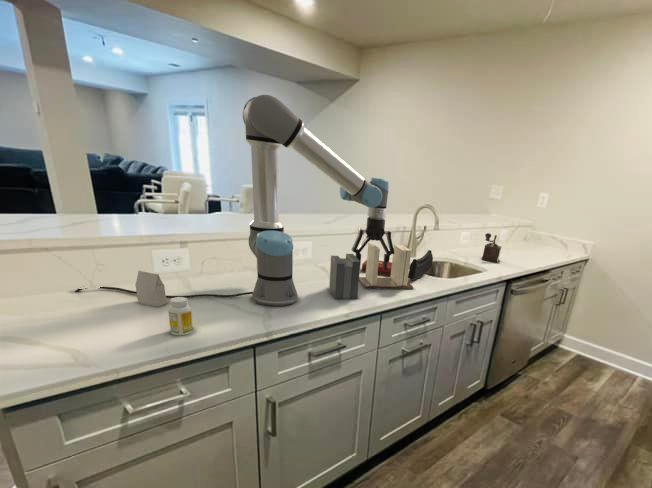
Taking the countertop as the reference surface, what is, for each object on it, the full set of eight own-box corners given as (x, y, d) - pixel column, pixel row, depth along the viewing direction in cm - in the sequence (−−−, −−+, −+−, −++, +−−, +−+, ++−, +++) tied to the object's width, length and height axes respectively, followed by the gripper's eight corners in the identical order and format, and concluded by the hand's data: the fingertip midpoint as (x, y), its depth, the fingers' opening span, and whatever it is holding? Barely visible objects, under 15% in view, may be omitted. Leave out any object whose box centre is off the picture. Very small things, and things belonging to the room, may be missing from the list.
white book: (371, 285, 165) (375, 248, 159) (365, 277, 174) (368, 242, 168) (376, 285, 166) (379, 249, 159) (369, 277, 175) (372, 243, 169)
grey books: (334, 299, 147) (337, 260, 141) (329, 288, 157) (331, 252, 151) (357, 298, 150) (360, 261, 144) (350, 289, 160) (353, 253, 154)
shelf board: (365, 288, 163) (365, 286, 163) (358, 279, 174) (358, 277, 174) (412, 289, 172) (413, 286, 171) (403, 280, 183) (403, 278, 182)
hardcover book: (403, 278, 186) (404, 269, 185) (361, 271, 187) (362, 263, 185) (406, 272, 197) (407, 264, 196) (366, 266, 198) (367, 258, 197)
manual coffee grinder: (482, 256, 262) (488, 230, 254) (498, 260, 259) (504, 233, 252) (479, 260, 248) (485, 233, 241) (496, 264, 245) (502, 236, 238)
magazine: (414, 265, 176) (434, 238, 198) (407, 263, 177) (428, 237, 199) (413, 295, 187) (432, 267, 209) (407, 294, 188) (426, 266, 210)
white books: (397, 285, 170) (402, 250, 163) (390, 278, 179) (394, 244, 173) (406, 285, 171) (411, 250, 165) (398, 278, 180) (402, 244, 174)
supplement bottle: (169, 336, 103) (165, 303, 99) (172, 328, 108) (168, 296, 104) (192, 335, 105) (189, 302, 102) (194, 327, 110) (191, 295, 106)
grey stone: (157, 306, 119) (152, 275, 115) (138, 302, 120) (133, 271, 116) (166, 303, 123) (162, 273, 119) (147, 299, 123) (143, 269, 120)
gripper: (350, 216, 151) (347, 270, 160) (405, 221, 161) (399, 271, 169) (346, 213, 158) (343, 265, 166) (399, 218, 167) (394, 267, 175)
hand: (371, 268), depth 168 cm, fingers open, 11 cm apart
